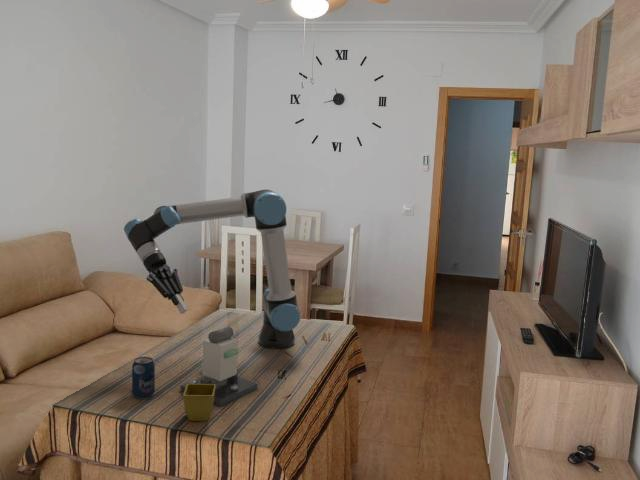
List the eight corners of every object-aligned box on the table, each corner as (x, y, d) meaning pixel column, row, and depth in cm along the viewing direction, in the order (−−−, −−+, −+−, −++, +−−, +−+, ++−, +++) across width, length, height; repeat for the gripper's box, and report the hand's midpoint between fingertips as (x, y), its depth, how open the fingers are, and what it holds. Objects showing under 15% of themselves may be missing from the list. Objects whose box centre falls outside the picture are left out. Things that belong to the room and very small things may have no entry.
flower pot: (186, 410, 184) (187, 383, 183) (215, 411, 185) (216, 383, 183) (182, 424, 175) (182, 395, 174) (212, 424, 176) (213, 395, 175)
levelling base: (180, 391, 198) (180, 375, 197) (218, 375, 213) (218, 360, 212) (220, 406, 188) (220, 390, 187) (257, 389, 203) (258, 373, 202)
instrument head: (200, 382, 198) (201, 330, 195) (221, 373, 206) (222, 323, 203) (221, 390, 193) (223, 337, 190) (242, 381, 201) (244, 329, 198)
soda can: (142, 401, 189) (142, 365, 187) (127, 396, 192) (127, 360, 190) (159, 394, 194) (159, 359, 192) (144, 389, 198) (144, 354, 196)
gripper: (160, 261, 222) (192, 313, 216) (132, 266, 212) (164, 321, 205) (170, 249, 219) (203, 301, 213) (142, 253, 208) (175, 309, 202)
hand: (184, 311), depth 209 cm, fingers closed
